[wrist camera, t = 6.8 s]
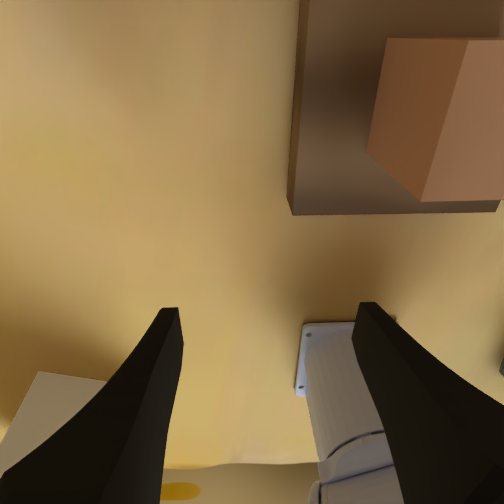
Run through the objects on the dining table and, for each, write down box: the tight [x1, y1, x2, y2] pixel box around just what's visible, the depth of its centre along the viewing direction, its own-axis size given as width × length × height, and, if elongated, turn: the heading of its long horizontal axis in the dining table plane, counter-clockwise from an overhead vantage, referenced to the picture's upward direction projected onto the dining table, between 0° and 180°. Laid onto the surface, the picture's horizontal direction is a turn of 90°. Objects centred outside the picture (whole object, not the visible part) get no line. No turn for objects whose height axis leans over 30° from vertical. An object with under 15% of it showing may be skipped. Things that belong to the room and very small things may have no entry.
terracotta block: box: [366, 37, 504, 202], centre depth 13 cm, size 5×5×6 cm
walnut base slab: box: [287, 0, 504, 216], centre depth 17 cm, size 12×12×2 cm
